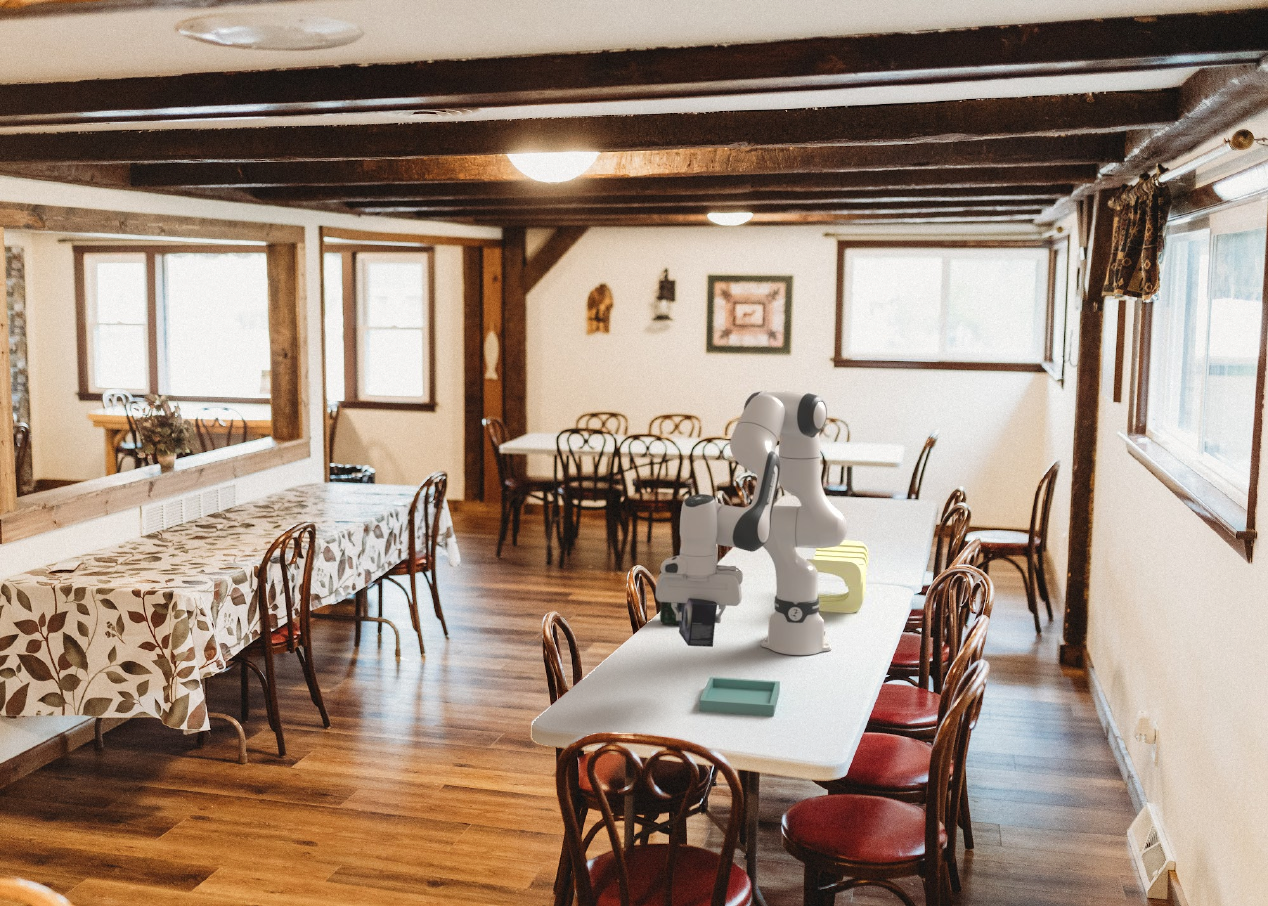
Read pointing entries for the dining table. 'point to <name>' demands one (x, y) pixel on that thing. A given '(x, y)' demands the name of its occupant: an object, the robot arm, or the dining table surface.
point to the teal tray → (740, 696)
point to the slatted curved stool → (843, 574)
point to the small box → (698, 622)
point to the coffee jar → (668, 613)
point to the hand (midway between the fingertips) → (698, 621)
